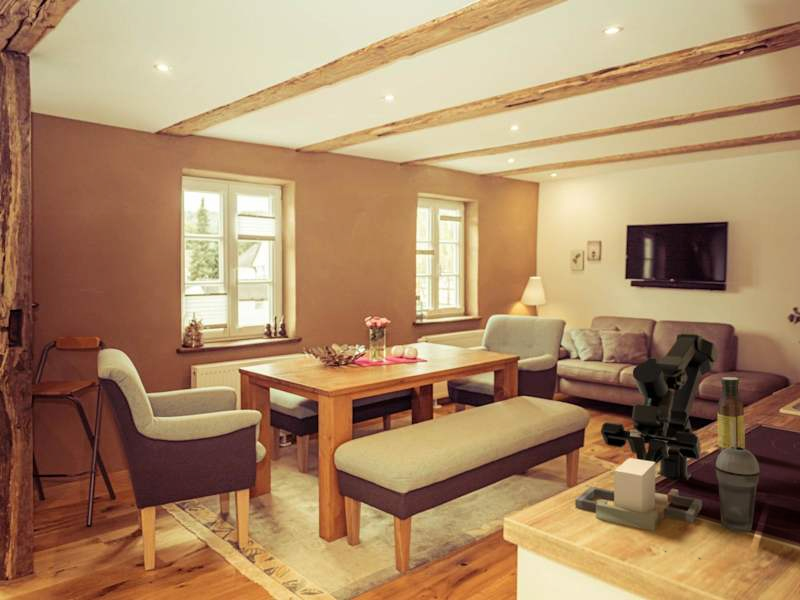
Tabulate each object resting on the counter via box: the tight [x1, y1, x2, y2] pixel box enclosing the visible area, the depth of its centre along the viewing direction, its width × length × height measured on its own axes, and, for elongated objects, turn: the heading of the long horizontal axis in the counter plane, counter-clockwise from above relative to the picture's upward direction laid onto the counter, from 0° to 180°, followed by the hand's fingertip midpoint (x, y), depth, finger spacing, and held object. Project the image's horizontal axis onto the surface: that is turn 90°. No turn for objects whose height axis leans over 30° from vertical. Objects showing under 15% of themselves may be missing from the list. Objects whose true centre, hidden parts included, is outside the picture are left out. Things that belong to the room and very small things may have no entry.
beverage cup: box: [714, 422, 761, 533], centre depth 110 cm, size 7×7×20 cm
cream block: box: [613, 457, 656, 513], centre depth 117 cm, size 10×5×9 cm, turn 144°
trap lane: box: [574, 486, 703, 532], centre depth 120 cm, size 21×20×4 cm
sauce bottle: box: [717, 376, 746, 453], centre depth 160 cm, size 6×6×20 cm
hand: (641, 475), depth 122 cm, fingers closed
